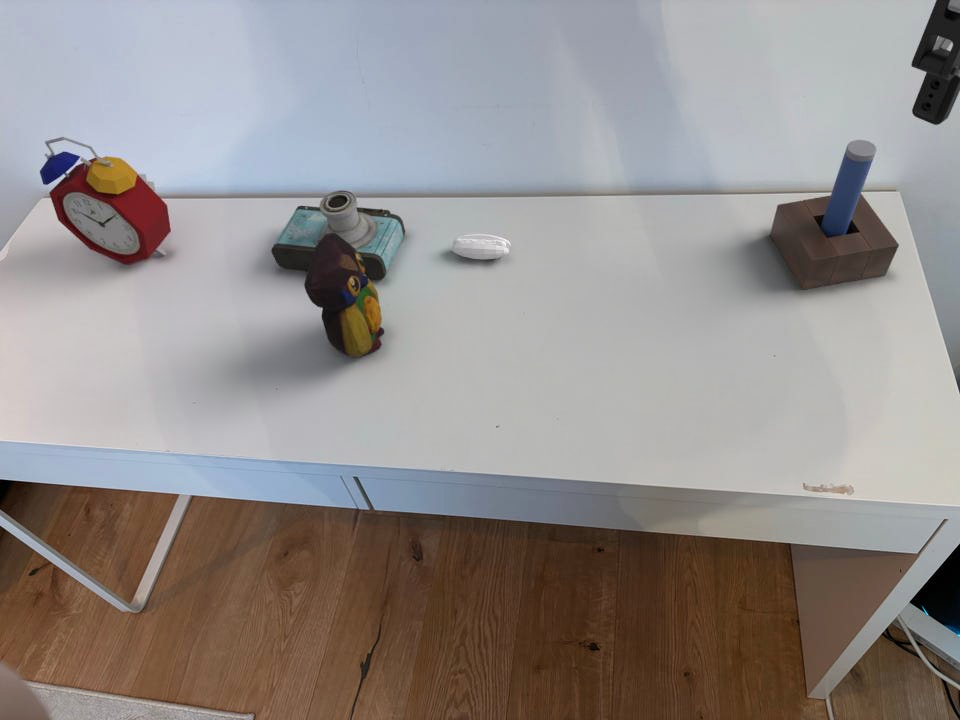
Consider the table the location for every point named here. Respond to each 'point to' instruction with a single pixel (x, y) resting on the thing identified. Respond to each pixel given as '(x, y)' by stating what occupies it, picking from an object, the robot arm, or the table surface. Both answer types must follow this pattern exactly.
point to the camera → (340, 233)
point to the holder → (831, 244)
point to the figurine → (344, 297)
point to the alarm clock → (107, 205)
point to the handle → (848, 187)
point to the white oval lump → (481, 246)
